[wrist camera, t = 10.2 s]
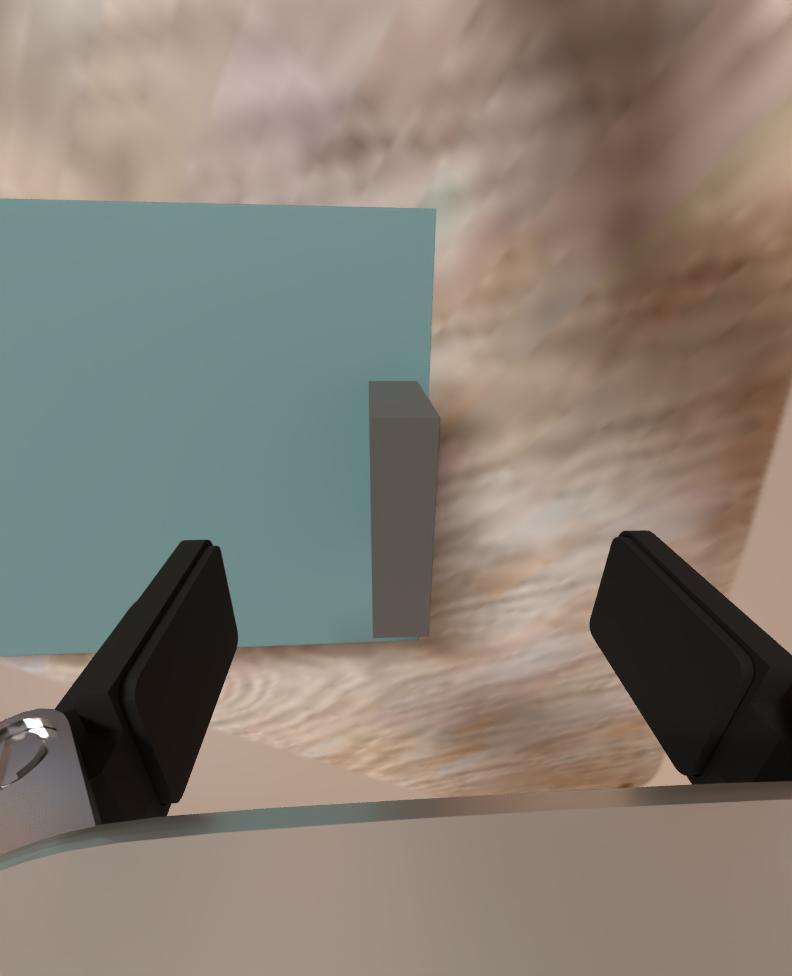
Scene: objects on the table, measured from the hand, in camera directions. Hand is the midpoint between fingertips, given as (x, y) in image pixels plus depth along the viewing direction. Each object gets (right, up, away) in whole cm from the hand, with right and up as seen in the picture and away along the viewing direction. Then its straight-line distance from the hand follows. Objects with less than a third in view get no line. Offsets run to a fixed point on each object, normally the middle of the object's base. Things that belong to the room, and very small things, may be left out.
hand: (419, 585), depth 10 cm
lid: (-12, +3, +9) cm, 15 cm away
